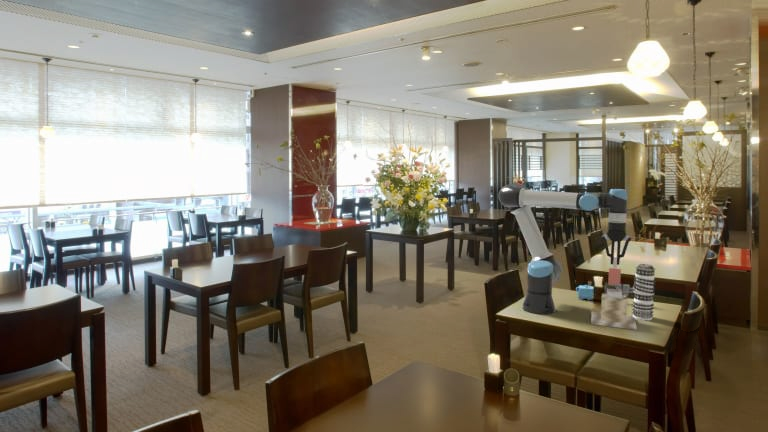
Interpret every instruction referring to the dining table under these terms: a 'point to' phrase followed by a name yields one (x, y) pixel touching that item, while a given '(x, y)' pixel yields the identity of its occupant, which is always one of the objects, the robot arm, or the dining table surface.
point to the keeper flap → (614, 277)
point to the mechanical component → (626, 289)
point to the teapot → (585, 292)
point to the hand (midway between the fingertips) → (614, 271)
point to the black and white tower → (644, 292)
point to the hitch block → (613, 312)
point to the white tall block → (614, 293)
